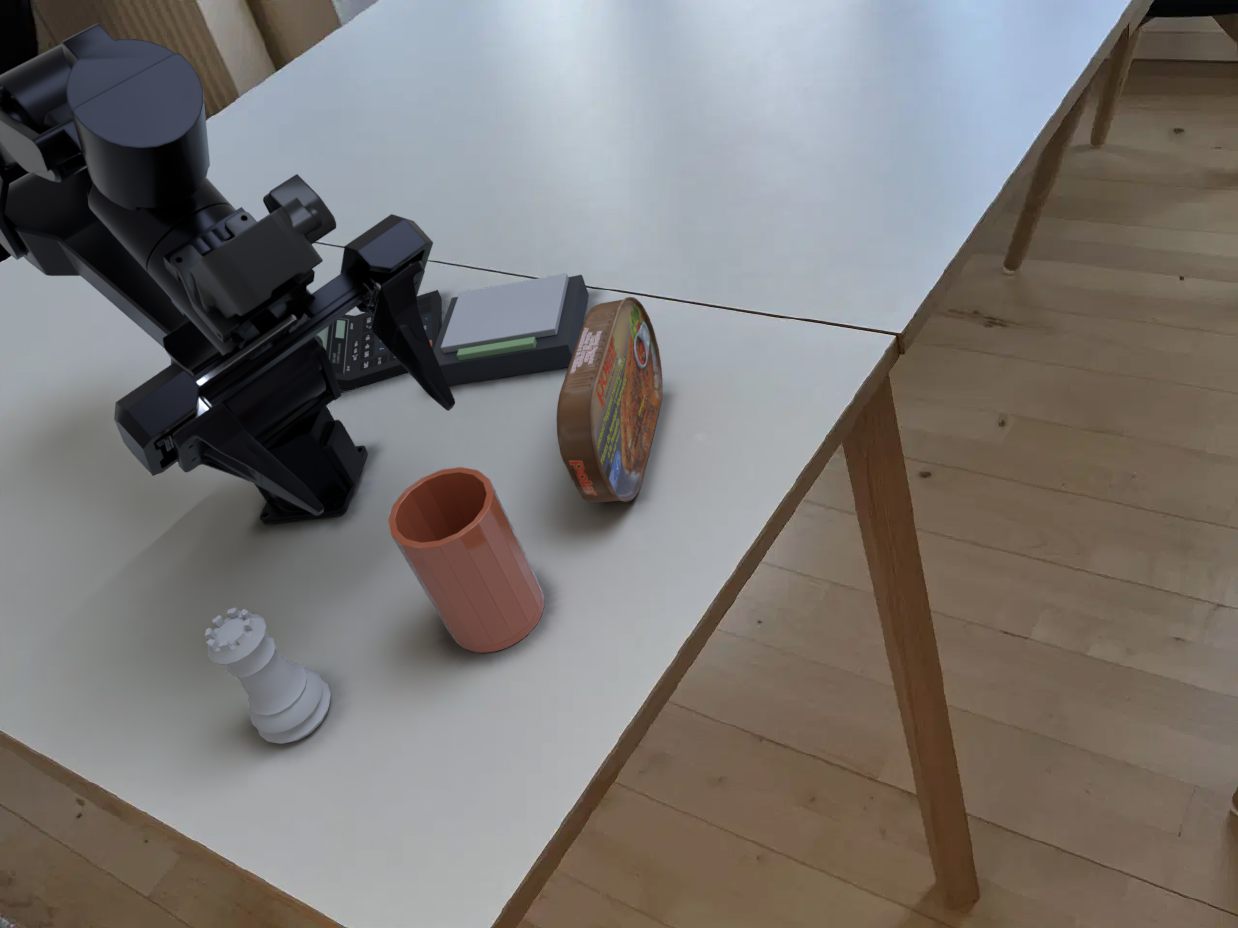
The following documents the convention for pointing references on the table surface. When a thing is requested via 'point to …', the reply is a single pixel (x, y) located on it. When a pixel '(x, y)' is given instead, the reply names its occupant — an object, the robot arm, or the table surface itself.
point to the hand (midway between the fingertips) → (388, 457)
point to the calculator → (372, 345)
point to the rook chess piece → (268, 678)
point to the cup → (467, 559)
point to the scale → (512, 329)
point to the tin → (610, 402)
